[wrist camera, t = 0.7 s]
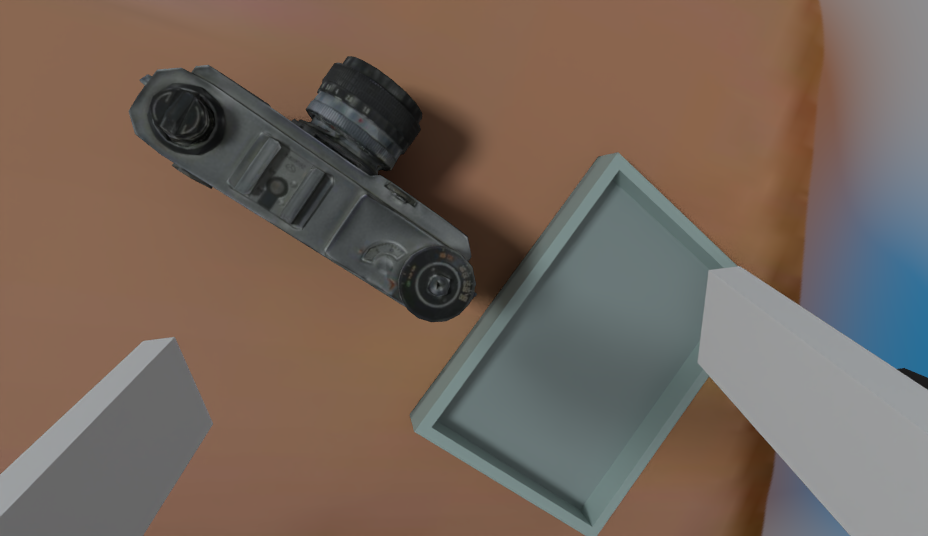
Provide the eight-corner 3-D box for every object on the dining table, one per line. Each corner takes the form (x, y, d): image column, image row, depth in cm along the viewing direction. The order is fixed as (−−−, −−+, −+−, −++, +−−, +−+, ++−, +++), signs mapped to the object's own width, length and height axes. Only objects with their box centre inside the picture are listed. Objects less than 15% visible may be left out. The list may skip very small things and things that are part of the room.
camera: (501, 191, 31) (569, 183, 21) (429, 304, 31) (464, 347, 21) (263, 18, 26) (210, -91, 17) (175, 151, 26) (71, 117, 17)
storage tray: (577, 518, 36) (593, 540, 33) (409, 414, 31) (414, 431, 29) (739, 288, 37) (766, 294, 34) (598, 156, 32) (618, 152, 30)
